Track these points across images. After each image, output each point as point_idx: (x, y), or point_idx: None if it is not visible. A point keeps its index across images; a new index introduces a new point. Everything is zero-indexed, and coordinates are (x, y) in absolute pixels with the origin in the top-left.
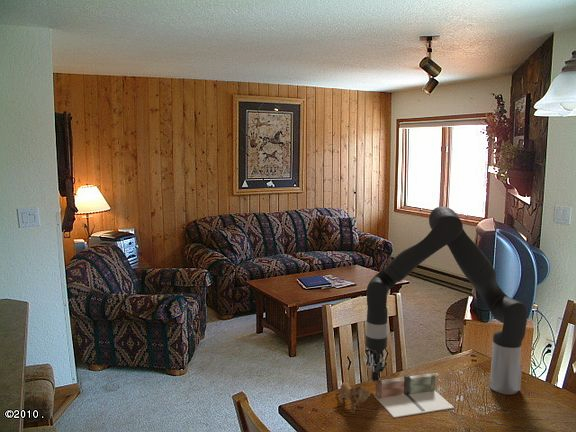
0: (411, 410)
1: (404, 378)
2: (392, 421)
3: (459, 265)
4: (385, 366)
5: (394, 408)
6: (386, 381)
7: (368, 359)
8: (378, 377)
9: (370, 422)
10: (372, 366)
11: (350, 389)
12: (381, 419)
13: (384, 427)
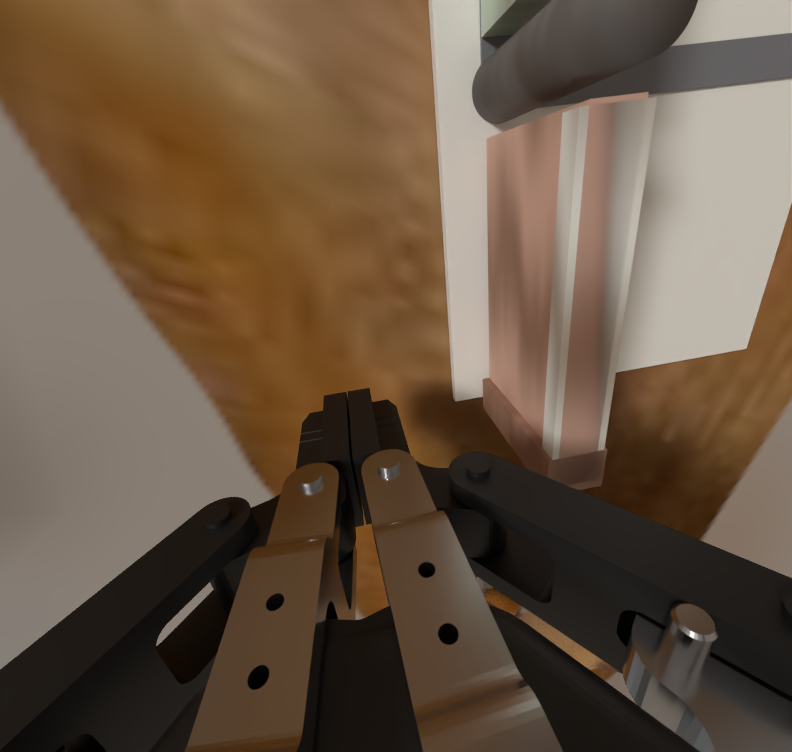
0: (755, 177)
1: (615, 70)
2: (759, 364)
3: None
4: (705, 545)
5: (669, 311)
6: (603, 396)
7: (201, 677)
8: (399, 418)
9: (702, 477)
10: (354, 575)
11: (606, 667)
12: (709, 419)
13: (776, 422)
